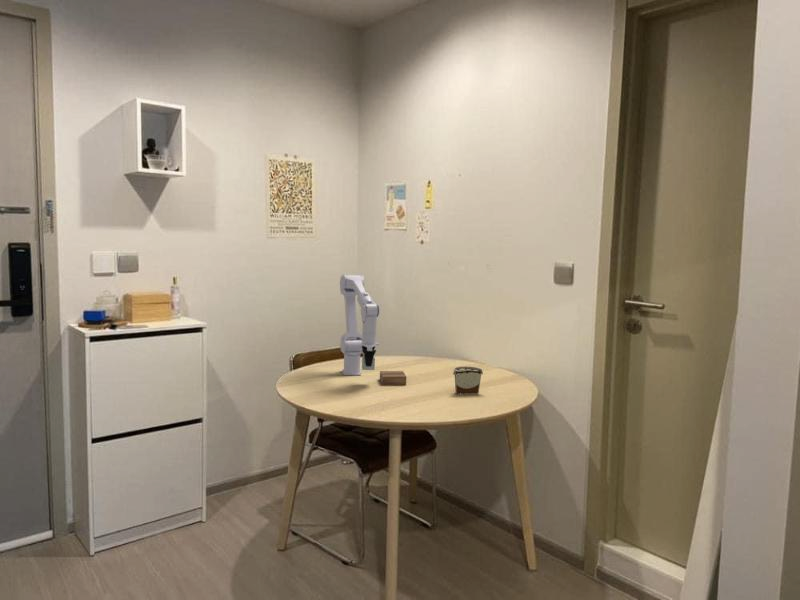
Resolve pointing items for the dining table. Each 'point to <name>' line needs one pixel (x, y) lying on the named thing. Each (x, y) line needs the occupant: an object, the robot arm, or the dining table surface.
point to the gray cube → (368, 366)
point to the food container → (467, 379)
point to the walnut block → (392, 378)
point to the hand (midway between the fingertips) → (368, 364)
